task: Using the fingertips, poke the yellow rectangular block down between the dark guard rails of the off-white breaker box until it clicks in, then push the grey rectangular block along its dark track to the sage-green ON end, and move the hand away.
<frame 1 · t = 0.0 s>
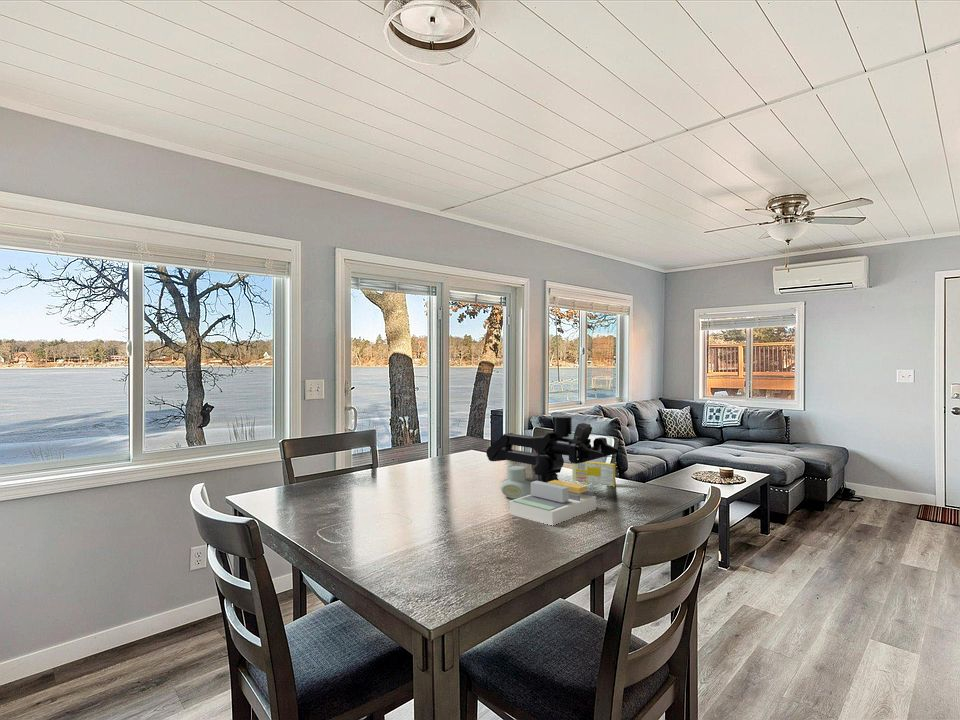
hand: (611, 453, 161), 17 cm above the table, tool horizontal, fingers open, 9 cm apart
grey rectangular block: (549, 491, 154), point 7 cm above the table, slide at 0.0 cm
candy box: (593, 484, 189), on the table
breaker box: (553, 511, 155), on the table
yellow rectangular block: (566, 486, 160), point 6 cm above the table, slide at 0.0 cm
air freshener: (517, 497, 172), on the table
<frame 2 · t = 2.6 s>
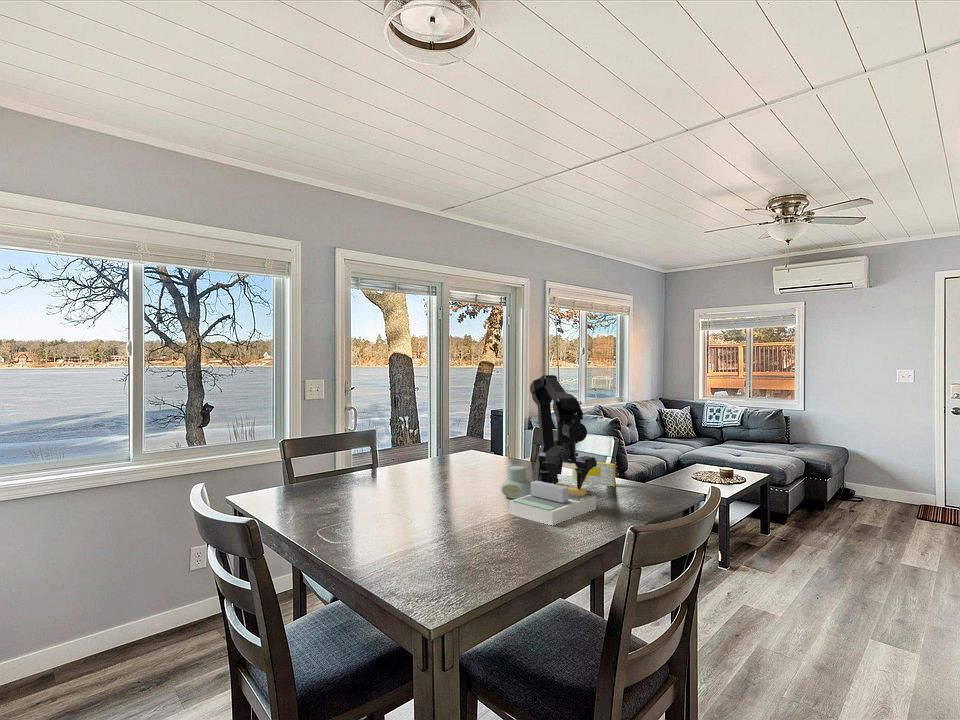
hand: (566, 486, 160), 6 cm above the table, tool pointing down
yellow rectangular block: (566, 489, 160), point 6 cm above the table, slide at 0.9 cm, touching gripper
everything else where it was.
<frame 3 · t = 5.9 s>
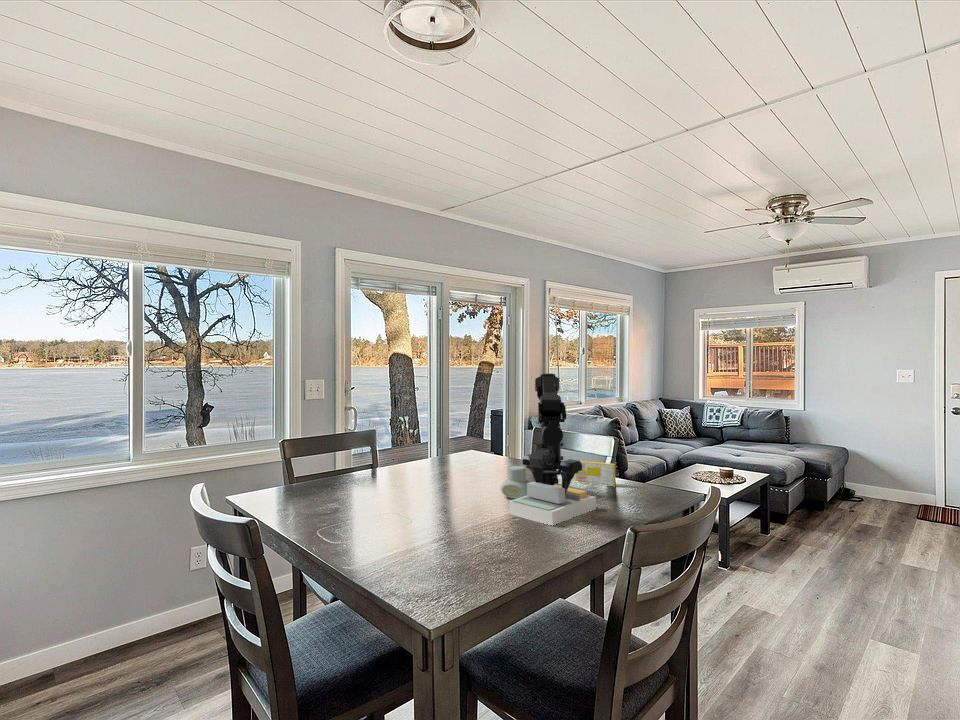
hand: (551, 491, 155), 6 cm above the table, tool pointing down, fingers open, 9 cm apart
grey rectangular block: (545, 492, 153), point 7 cm above the table, slide at 1.7 cm, touching gripper
yellow rectangular block: (566, 491, 160), point 5 cm above the table, slide at 1.6 cm
everything else where it was.
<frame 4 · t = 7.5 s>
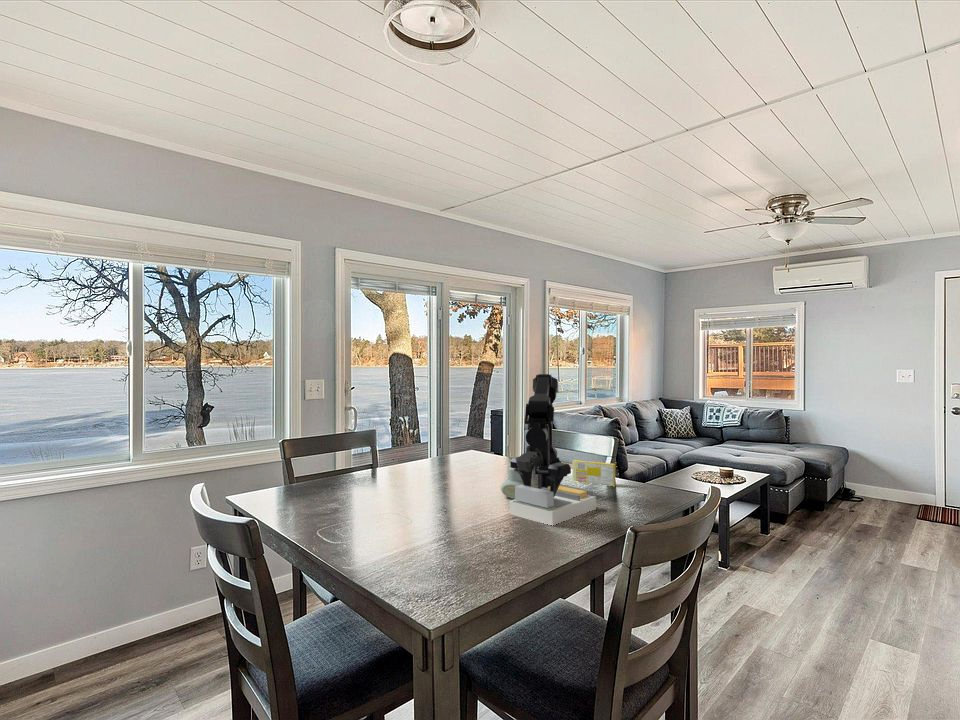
hand: (540, 495, 151), 6 cm above the table, tool pointing down
grey rectangular block: (533, 496, 149), point 7 cm above the table, slide at 7.3 cm, touching gripper
everything else where it was.
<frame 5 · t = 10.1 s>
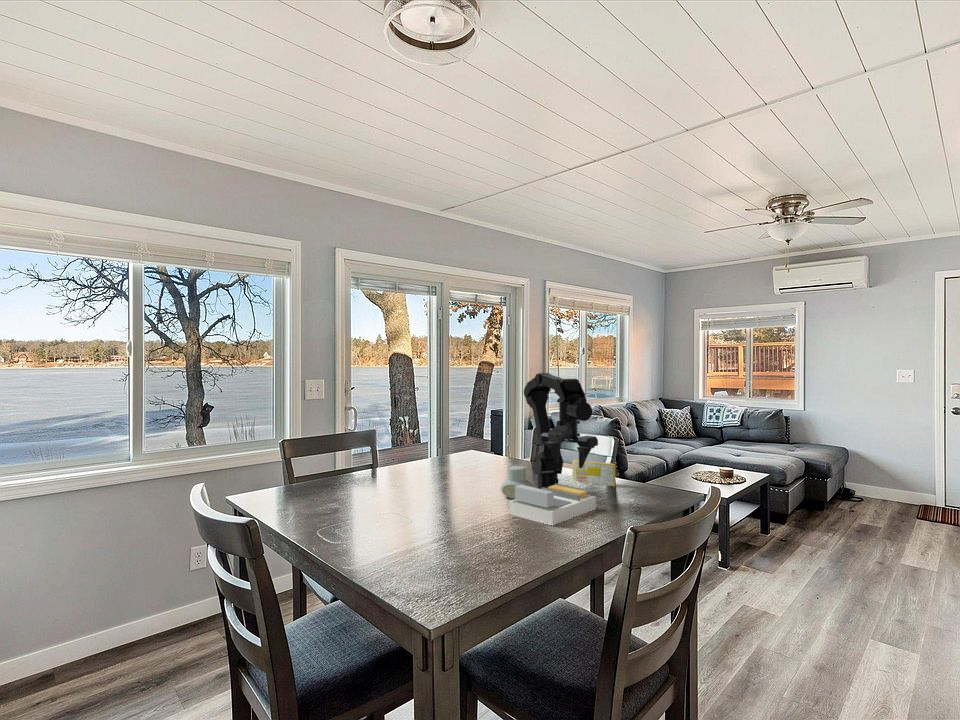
hand: (568, 465, 164), 12 cm above the table, tool pointing down, fingers open, 9 cm apart
grey rectangular block: (533, 496, 149), point 7 cm above the table, slide at 7.3 cm
everything else where it was.
at the end: yellow rectangular block slide at 1.6 cm; grey rectangular block slide at 7.3 cm; air freshener moved 0.3 cm from its start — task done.
